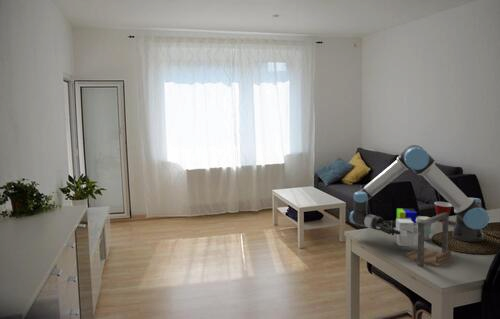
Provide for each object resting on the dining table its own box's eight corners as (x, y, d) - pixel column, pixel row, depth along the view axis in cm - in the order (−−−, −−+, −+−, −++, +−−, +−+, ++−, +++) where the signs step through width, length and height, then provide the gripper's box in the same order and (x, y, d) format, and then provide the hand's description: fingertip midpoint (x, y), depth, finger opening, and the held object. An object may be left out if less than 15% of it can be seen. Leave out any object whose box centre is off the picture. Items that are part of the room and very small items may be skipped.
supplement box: (398, 246, 188) (399, 222, 187) (395, 241, 196) (395, 218, 194) (413, 246, 187) (414, 222, 186) (409, 241, 195) (410, 218, 193)
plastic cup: (451, 224, 230) (452, 206, 229) (432, 222, 236) (433, 204, 235) (452, 219, 240) (453, 202, 238) (434, 218, 245) (434, 200, 244)
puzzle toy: (416, 228, 226) (416, 212, 225) (399, 228, 228) (399, 212, 227) (412, 223, 236) (413, 208, 235) (396, 223, 238) (396, 208, 237)
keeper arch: (399, 259, 180) (400, 218, 178) (426, 246, 196) (427, 208, 193) (432, 269, 167) (432, 225, 165) (458, 255, 183) (459, 214, 180)
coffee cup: (416, 234, 214) (416, 215, 213) (432, 236, 210) (432, 216, 209) (414, 239, 207) (414, 219, 205) (431, 241, 203) (431, 220, 201)
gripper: (386, 224, 212) (423, 234, 194) (362, 233, 199) (400, 244, 181) (386, 212, 211) (423, 220, 193) (362, 219, 198) (400, 229, 180)
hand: (412, 232), depth 187 cm, fingers closed on supplement box, 10 cm apart
